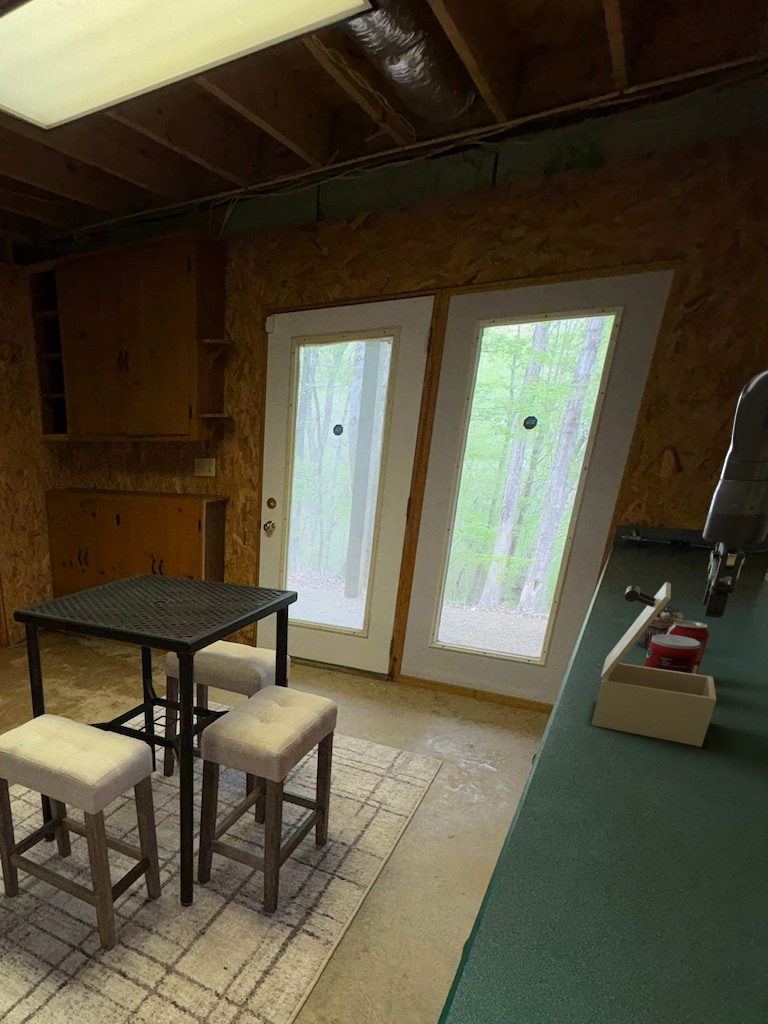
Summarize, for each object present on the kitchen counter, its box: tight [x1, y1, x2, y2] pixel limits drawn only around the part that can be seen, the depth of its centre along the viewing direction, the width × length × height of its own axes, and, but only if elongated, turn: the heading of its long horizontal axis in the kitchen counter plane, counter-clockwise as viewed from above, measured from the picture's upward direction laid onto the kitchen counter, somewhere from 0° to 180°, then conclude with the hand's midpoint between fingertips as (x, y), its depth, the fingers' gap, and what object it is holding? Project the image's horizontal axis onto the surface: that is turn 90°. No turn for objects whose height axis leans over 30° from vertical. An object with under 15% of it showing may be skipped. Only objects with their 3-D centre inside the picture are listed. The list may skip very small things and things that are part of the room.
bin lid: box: [600, 581, 672, 680], centre depth 111 cm, size 16×13×5 cm
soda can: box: [667, 619, 710, 674], centre depth 132 cm, size 7×7×12 cm
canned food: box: [643, 634, 700, 674], centre depth 125 cm, size 8×8×11 cm
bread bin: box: [591, 662, 717, 748], centre depth 112 cm, size 16×13×9 cm
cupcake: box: [640, 605, 686, 650], centre depth 150 cm, size 10×10×10 cm
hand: (711, 610), depth 103 cm, fingers open, 8 cm apart
